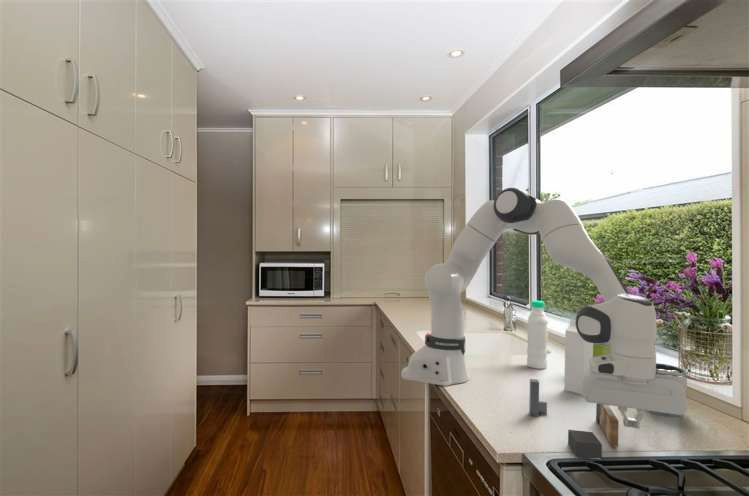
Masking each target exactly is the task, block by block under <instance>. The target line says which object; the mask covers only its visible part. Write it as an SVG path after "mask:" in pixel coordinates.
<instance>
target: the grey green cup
mask: <svg viewBox="0 0 749 496" xmlns="http://www.w3.org/2000/svg"><path fill="white" fill-rule="evenodd" d="M656 369H664V370H669V371H672V370H673V371H678V372H679V373H681V374H683V375H684V376H685V377H686V376H687V371H686V370H685V369H684V368H682V367H679V366H676V365H675V366H674V365H671V364H666V363H657V362H656ZM679 376H681V375H679ZM686 378H687V377H686ZM649 412H650V413H652V414H655V415H659V416H664V417H670V418H679V417H682V415H677V414H670V413H662V412H655V411H649Z"/></svg>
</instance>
